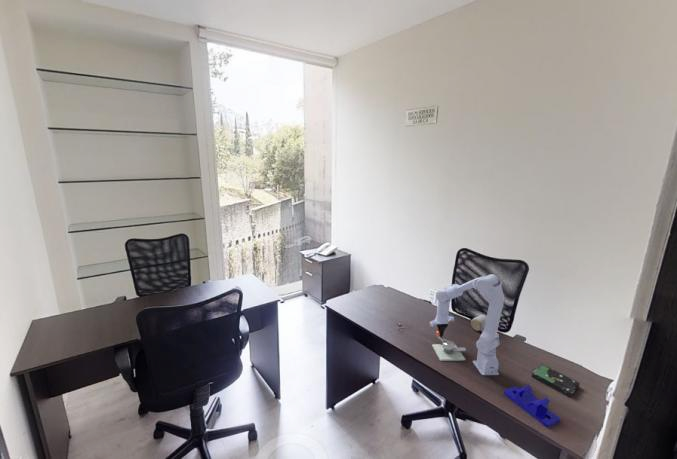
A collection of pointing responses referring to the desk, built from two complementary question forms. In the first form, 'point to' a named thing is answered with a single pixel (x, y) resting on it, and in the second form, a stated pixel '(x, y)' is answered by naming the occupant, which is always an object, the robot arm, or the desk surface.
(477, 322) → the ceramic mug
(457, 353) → the base
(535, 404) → the mounting bracket
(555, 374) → the disk drive
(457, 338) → the desk surface
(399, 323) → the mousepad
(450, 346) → the key lever
